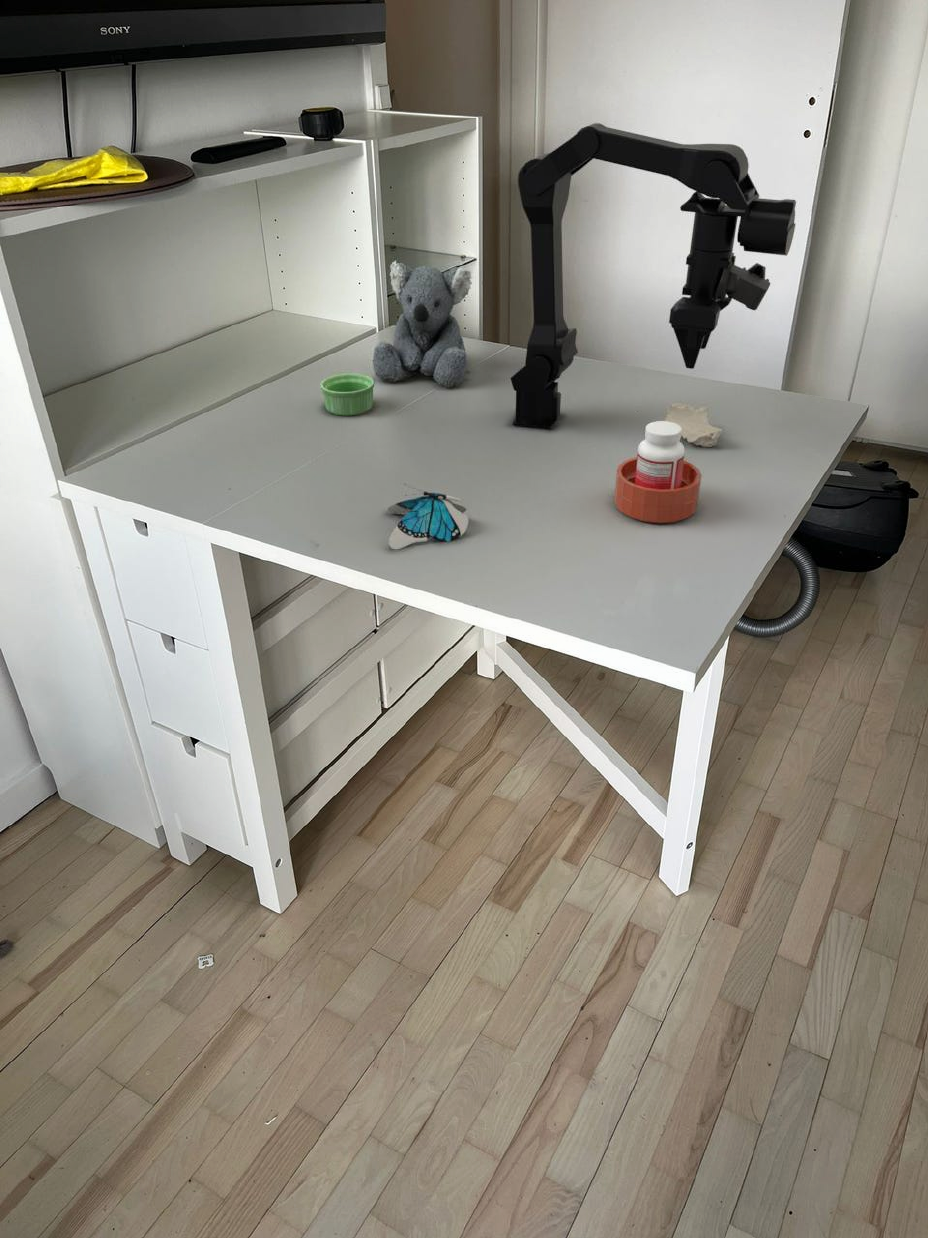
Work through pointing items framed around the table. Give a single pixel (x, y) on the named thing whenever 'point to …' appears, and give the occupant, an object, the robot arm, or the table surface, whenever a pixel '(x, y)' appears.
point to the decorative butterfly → (428, 520)
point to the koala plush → (425, 326)
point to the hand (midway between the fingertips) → (695, 357)
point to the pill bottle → (660, 457)
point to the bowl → (656, 495)
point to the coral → (694, 424)
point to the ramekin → (348, 394)
